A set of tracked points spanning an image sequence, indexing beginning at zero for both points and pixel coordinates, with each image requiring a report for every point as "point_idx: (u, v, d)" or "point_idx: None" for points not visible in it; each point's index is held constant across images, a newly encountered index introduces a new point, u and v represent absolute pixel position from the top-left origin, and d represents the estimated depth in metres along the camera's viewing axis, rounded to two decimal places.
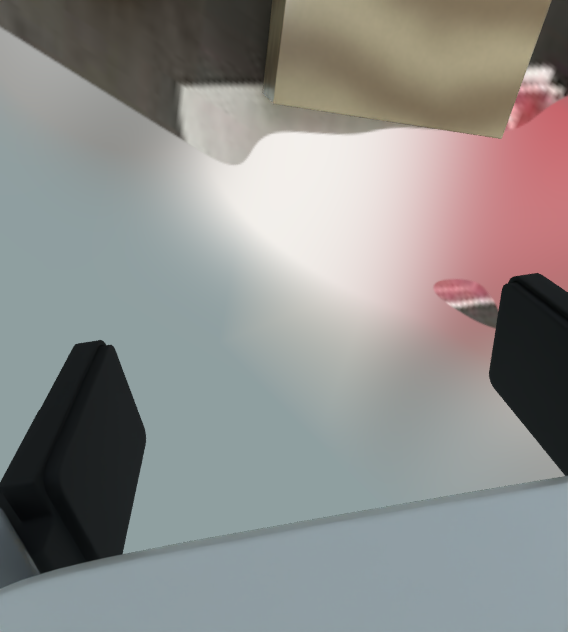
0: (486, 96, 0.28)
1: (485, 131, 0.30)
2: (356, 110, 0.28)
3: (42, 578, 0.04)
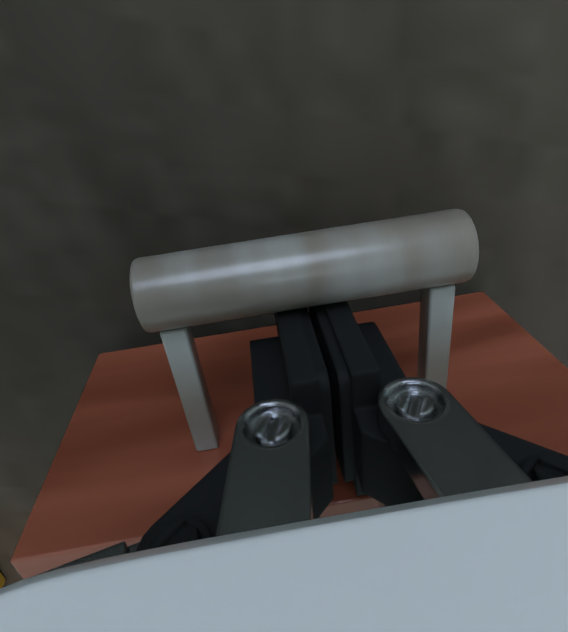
0: None
1: None
2: None
3: (42, 578, 0.04)
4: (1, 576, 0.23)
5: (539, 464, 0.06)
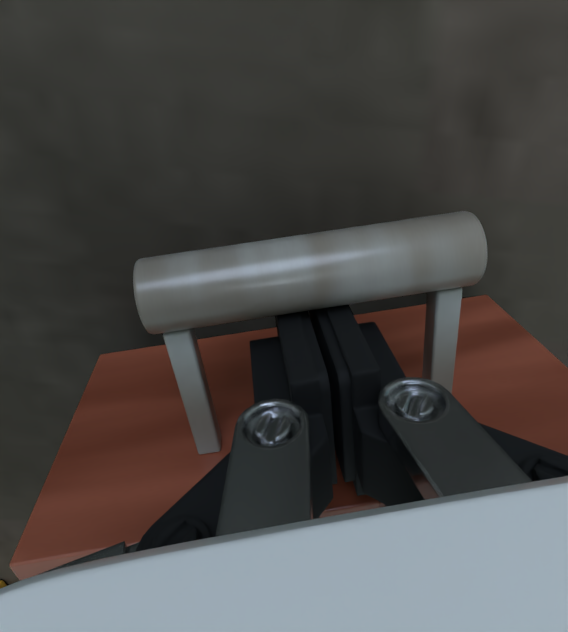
0: None
1: None
2: None
3: (42, 578, 0.04)
4: None
5: (539, 464, 0.06)
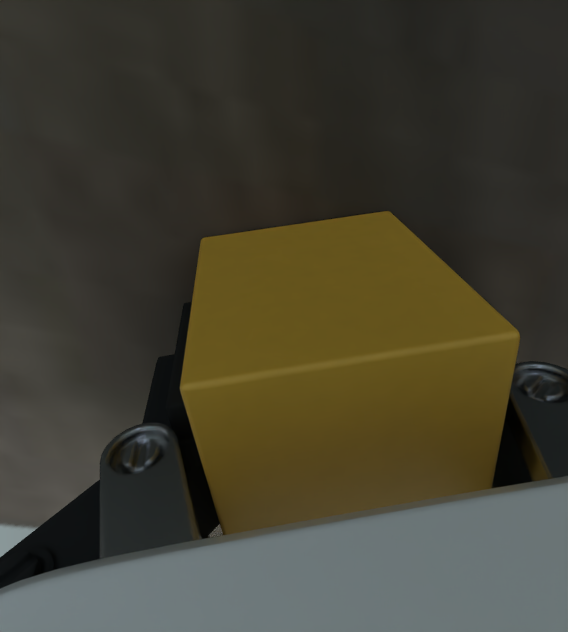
0: None
1: None
2: None
3: (42, 578, 0.04)
4: None
5: None
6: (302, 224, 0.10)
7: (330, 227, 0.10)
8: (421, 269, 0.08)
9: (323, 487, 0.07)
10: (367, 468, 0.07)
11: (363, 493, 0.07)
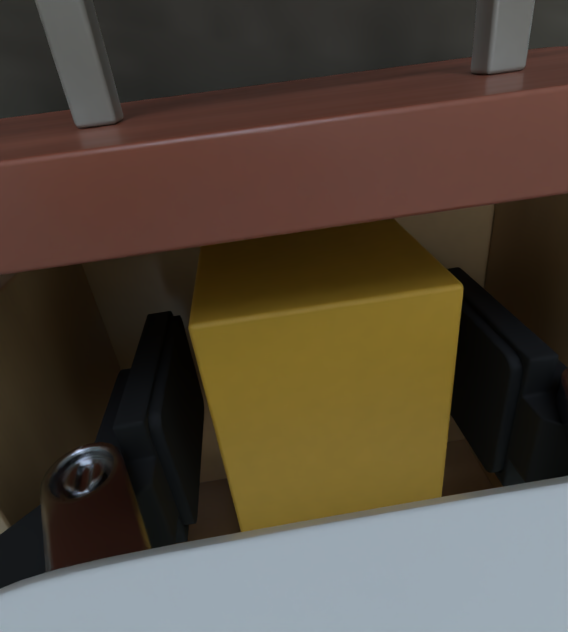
0: None
1: None
2: None
3: (42, 578, 0.04)
4: None
5: None
6: None
7: None
8: (391, 241, 0.09)
9: (306, 419, 0.08)
10: (342, 402, 0.08)
11: (340, 426, 0.08)
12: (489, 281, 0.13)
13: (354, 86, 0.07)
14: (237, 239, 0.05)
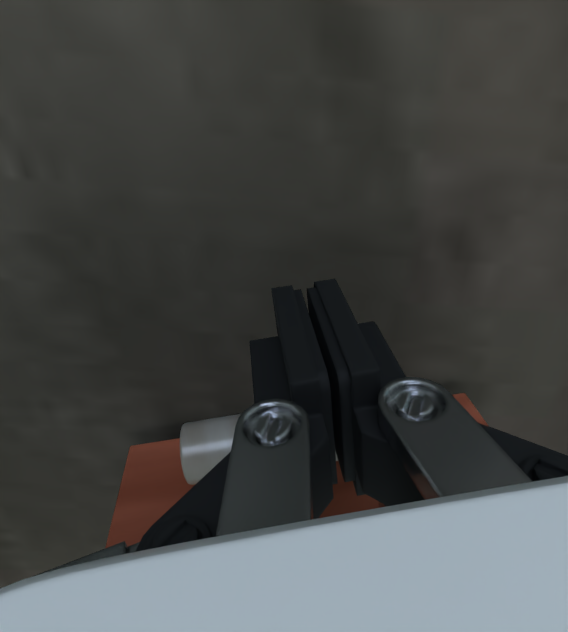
0: None
1: None
2: None
3: (42, 578, 0.04)
4: None
5: (539, 464, 0.06)
6: None
7: None
8: None
9: None
10: None
11: None
12: None
13: (349, 503, 0.15)
14: None
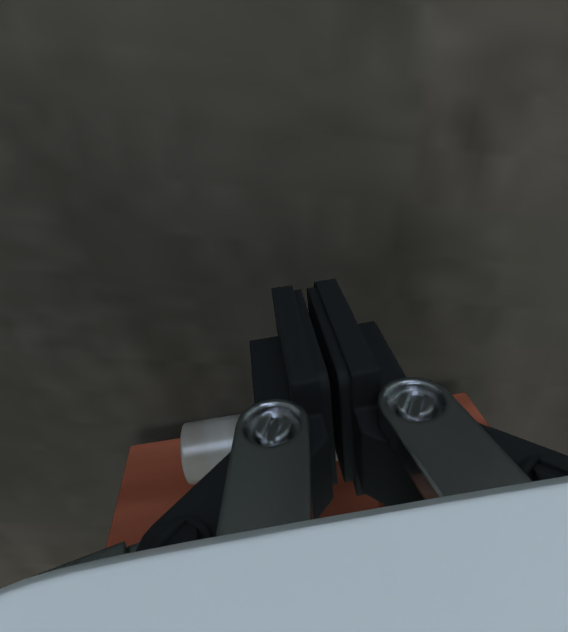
0: None
1: None
2: None
3: (42, 578, 0.04)
4: None
5: (539, 464, 0.06)
6: None
7: None
8: None
9: None
10: None
11: None
12: None
13: (349, 503, 0.15)
14: None
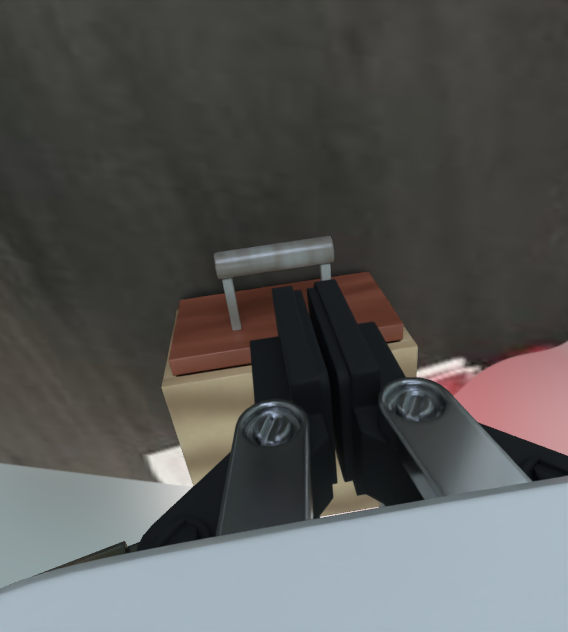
0: None
1: None
2: None
3: (42, 578, 0.04)
4: None
5: (539, 464, 0.06)
6: None
7: None
8: None
9: None
10: None
11: None
12: None
13: None
14: None
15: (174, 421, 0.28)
